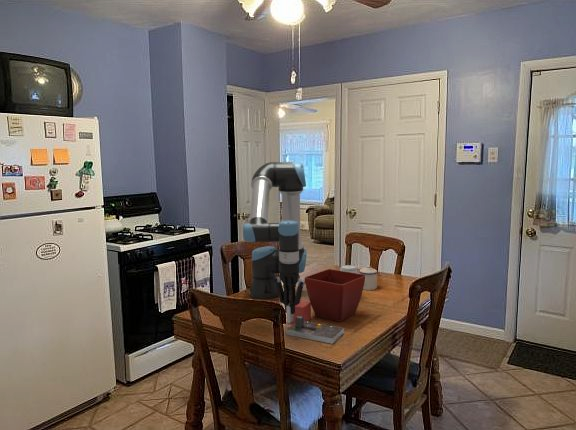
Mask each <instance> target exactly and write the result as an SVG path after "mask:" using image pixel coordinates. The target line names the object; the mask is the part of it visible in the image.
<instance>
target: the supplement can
mask: <svg viewBox="0 0 576 430" xmlns="http://www.w3.org/2000/svg"><path fill="white" fill-rule="evenodd" d="M339 271H345V272H351V273H358V269H357V266H355V265H352V264H346V265H344V264H343V265H341V266H340V268H339Z"/></svg>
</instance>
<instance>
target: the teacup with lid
mask: <svg viewBox="0 0 576 430" xmlns="http://www.w3.org/2000/svg"><path fill="white" fill-rule="evenodd" d="M358 271H359V272H357V274H362V275H365V282H364V287H363V290H365V291H374V290H376V289H377V288H378V270H377V269H375V268H373V267H371V265H368V264H367V265H366V266H365V267H363V268H360V269H359V270H358Z"/></svg>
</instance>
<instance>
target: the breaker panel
mask: <svg viewBox="0 0 576 430" xmlns="http://www.w3.org/2000/svg"><path fill="white" fill-rule="evenodd" d="M344 333H345V327H340V326H335V325H334V324H329V325H328V324H323V322H313V321H310V320H308V321H304V326H303V327H301V328H299V327H295V323H292V325H290V326H289V327H287V328H286V329H285V335H287V336H291V337H296V338H301V339H306V340H311V341H315V342H320V343H326V344H331V345H334V343H336V341H338V340H339V339H340V338H341V337H342V336H343V335H344Z"/></svg>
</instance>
